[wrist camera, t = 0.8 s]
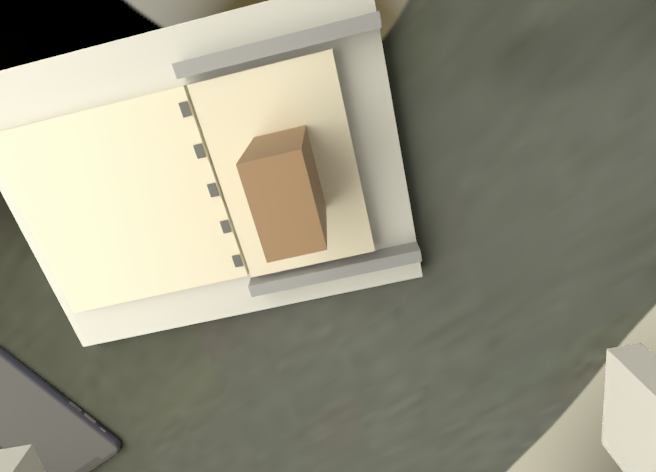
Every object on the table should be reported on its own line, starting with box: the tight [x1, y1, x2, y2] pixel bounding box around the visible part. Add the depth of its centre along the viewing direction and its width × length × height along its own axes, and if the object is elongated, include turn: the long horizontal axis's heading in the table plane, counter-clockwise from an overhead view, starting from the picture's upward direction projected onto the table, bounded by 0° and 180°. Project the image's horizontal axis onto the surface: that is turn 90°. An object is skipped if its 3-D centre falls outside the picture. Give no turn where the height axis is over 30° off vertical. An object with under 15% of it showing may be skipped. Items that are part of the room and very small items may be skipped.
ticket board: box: [0, 0, 423, 347], centre depth 28 cm, size 24×18×2 cm
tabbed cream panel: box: [187, 49, 375, 278], centre depth 25 cm, size 8×12×7 cm, turn 13°
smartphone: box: [0, 346, 121, 472], centre depth 37 cm, size 8×1×15 cm
